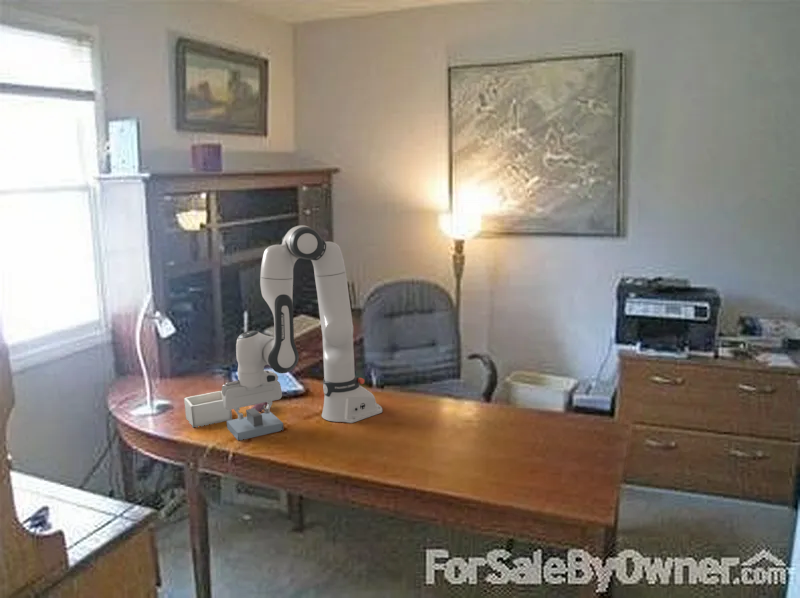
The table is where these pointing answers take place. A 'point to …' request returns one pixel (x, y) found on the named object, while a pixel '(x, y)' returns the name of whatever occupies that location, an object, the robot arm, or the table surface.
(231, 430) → the lid
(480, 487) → the table surface
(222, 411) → the storage box
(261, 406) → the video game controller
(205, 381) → the table surface
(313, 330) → the table surface
